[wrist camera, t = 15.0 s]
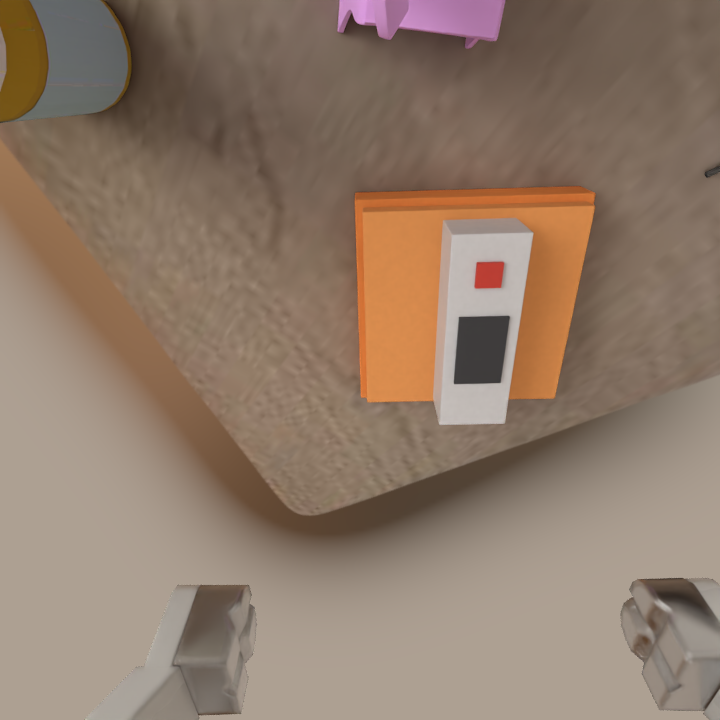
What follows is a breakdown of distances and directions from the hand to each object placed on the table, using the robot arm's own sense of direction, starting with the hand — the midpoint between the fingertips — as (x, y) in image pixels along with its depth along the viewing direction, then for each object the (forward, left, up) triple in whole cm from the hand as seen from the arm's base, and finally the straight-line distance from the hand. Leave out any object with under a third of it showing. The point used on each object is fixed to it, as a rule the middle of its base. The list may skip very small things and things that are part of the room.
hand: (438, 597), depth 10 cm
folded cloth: (+5, +6, -29) cm, 30 cm away
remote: (+5, +6, -25) cm, 26 cm away
